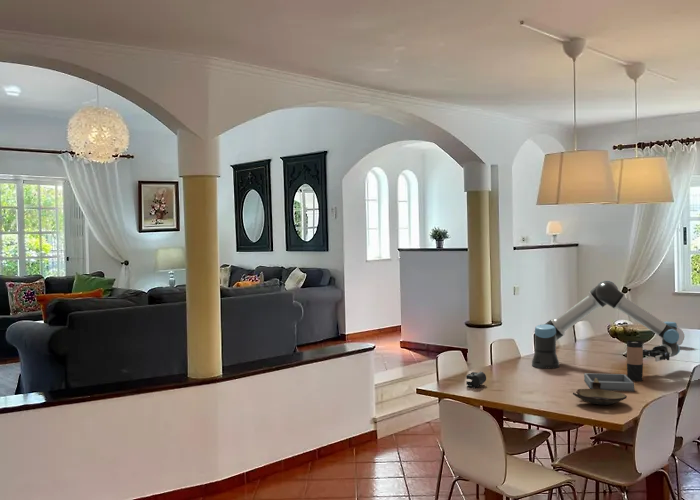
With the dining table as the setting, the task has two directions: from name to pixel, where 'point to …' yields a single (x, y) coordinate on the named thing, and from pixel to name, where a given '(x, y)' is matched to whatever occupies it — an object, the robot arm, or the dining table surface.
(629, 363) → the travel mug
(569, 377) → the dining table surface
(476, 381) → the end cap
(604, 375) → the parts tray
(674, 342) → the robot arm
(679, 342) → the decorative ball
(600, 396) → the oil lamp
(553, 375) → the dining table surface
